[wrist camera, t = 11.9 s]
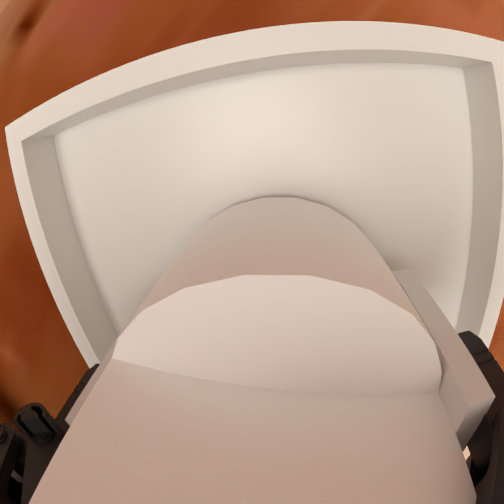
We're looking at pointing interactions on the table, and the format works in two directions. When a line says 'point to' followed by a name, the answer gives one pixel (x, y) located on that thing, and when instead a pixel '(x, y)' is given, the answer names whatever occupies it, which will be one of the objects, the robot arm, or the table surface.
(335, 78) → the tray
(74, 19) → the table surface
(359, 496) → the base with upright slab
